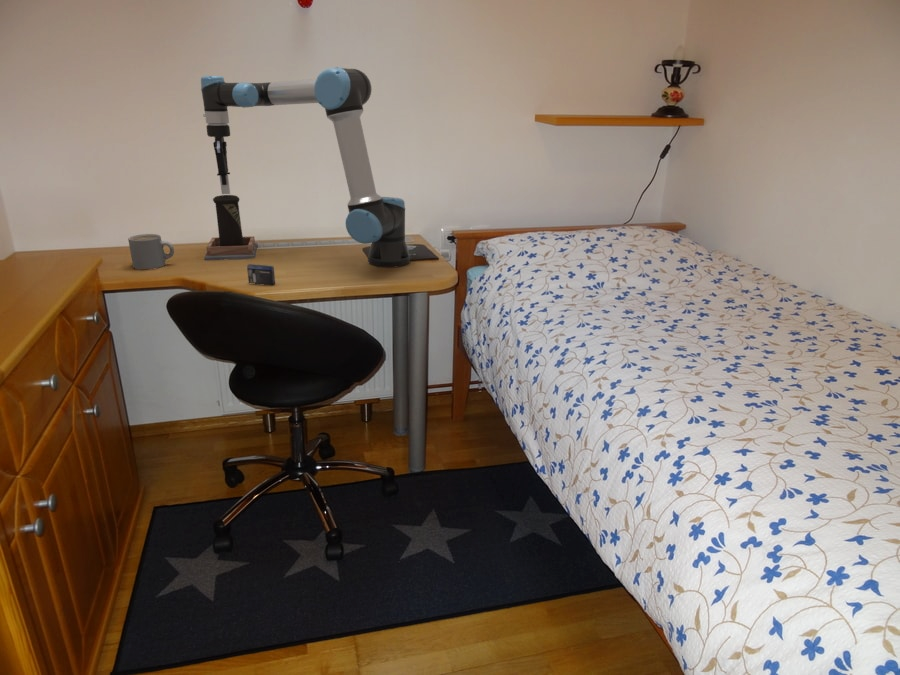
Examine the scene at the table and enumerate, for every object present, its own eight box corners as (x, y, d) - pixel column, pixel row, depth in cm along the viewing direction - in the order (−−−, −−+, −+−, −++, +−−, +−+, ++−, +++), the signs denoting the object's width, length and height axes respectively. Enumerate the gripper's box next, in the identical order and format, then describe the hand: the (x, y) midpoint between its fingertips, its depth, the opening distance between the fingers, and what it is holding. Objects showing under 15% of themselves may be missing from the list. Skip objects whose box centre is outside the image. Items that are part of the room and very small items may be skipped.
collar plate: (254, 258, 223) (253, 247, 221) (204, 260, 219) (203, 249, 218) (257, 245, 241) (256, 235, 239) (211, 246, 237) (210, 236, 236)
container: (240, 253, 226) (234, 197, 218) (215, 252, 226) (208, 197, 218) (248, 247, 234) (242, 193, 226) (224, 246, 234) (217, 193, 226)
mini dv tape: (248, 283, 196) (246, 265, 193) (251, 282, 197) (249, 264, 195) (273, 285, 195) (271, 267, 192) (275, 284, 196) (273, 265, 194)
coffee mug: (128, 270, 206) (123, 240, 203) (140, 262, 216) (135, 233, 212) (169, 270, 208) (165, 240, 204) (179, 262, 217) (175, 233, 213)
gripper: (208, 123, 218) (217, 190, 227) (203, 125, 206) (212, 196, 215) (231, 123, 219) (238, 190, 228) (227, 125, 208) (235, 196, 217)
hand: (226, 193), depth 222 cm, fingers closed
